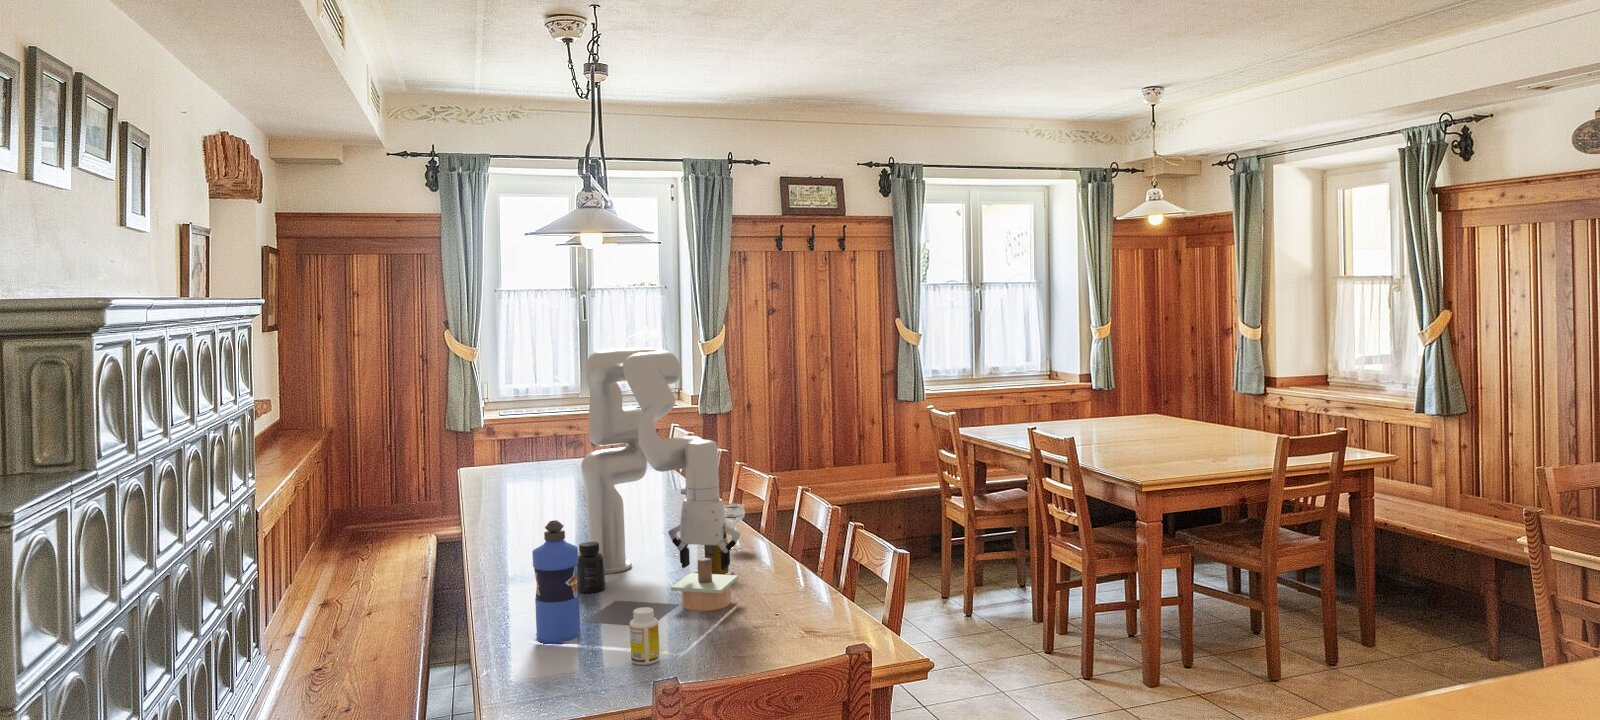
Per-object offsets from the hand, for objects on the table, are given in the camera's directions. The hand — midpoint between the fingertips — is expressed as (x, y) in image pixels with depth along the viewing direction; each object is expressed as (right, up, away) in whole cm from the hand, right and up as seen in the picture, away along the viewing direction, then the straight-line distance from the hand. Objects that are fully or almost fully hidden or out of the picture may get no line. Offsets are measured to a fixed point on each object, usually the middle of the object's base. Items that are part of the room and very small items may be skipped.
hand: (705, 567), depth 236 cm
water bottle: (-29, -11, -19) cm, 37 cm away
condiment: (0, -8, +28) cm, 29 cm away
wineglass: (+3, -6, +55) cm, 55 cm away
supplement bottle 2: (-9, -12, -34) cm, 37 cm away
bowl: (0, -9, +1) cm, 9 cm away
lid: (0, -4, 0) cm, 4 cm away
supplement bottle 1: (-29, -9, +14) cm, 34 cm away
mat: (-16, -10, -5) cm, 19 cm away
